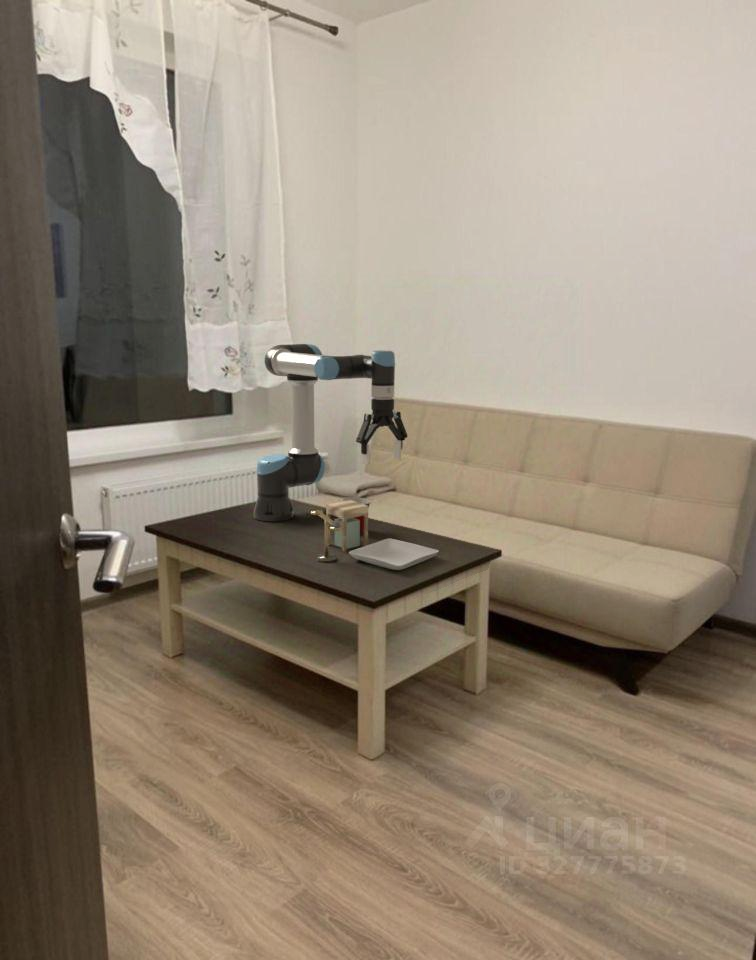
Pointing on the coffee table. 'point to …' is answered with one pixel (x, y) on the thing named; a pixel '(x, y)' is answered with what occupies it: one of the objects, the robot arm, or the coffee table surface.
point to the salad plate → (393, 554)
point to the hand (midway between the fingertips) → (382, 461)
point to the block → (349, 533)
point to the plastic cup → (362, 501)
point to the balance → (336, 527)
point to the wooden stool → (347, 511)
